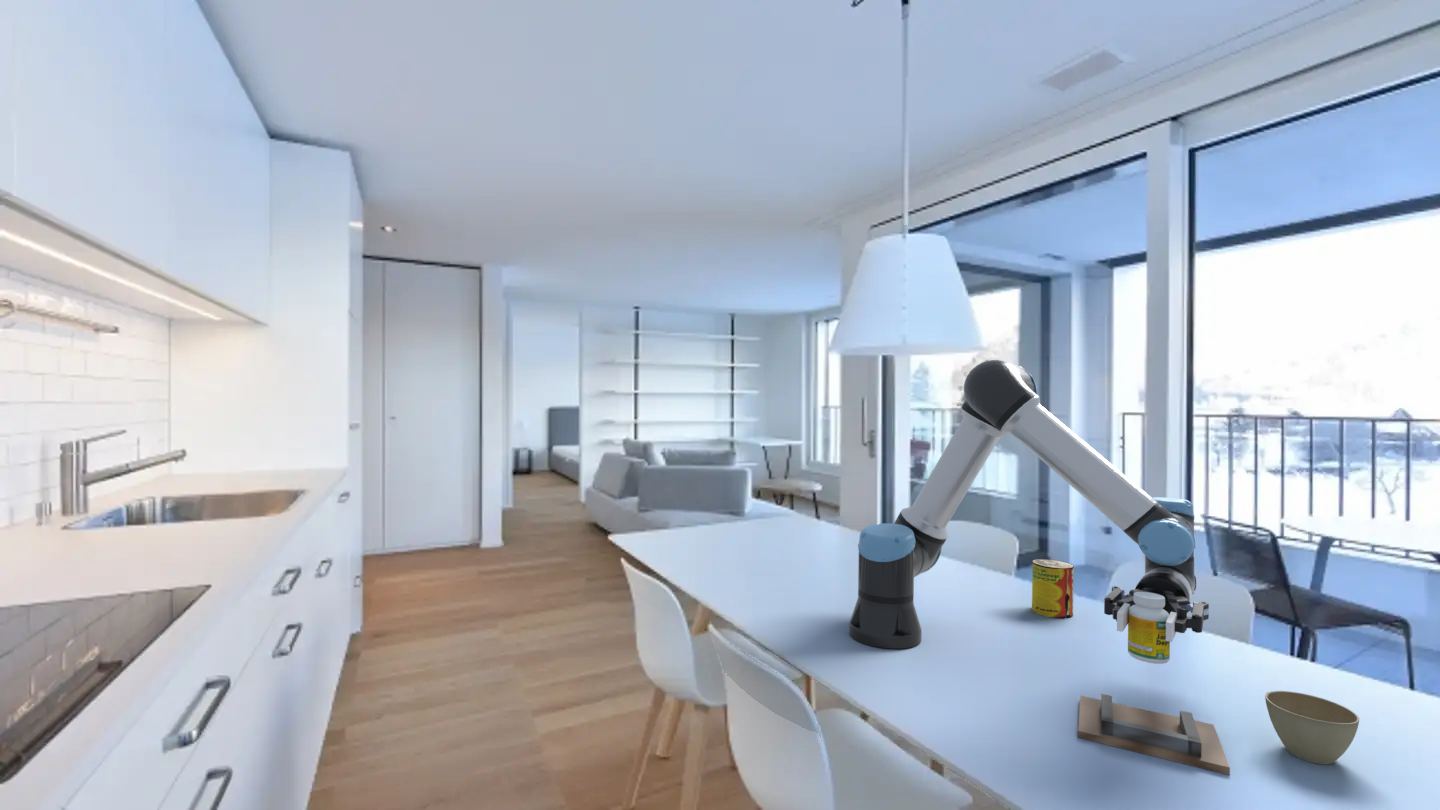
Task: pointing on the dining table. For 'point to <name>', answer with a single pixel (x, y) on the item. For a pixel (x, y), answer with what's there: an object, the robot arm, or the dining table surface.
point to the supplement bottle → (1148, 628)
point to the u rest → (1152, 733)
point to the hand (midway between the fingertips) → (1144, 626)
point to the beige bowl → (1311, 725)
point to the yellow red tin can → (1052, 588)
